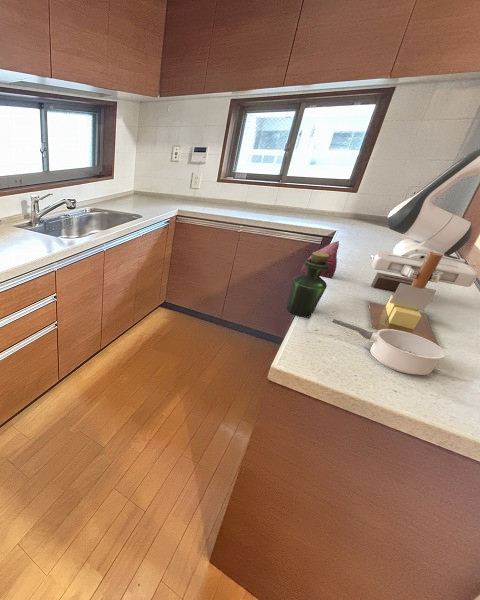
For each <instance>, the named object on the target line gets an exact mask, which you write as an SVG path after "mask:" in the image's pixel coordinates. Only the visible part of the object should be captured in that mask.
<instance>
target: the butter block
mask: <svg viewBox="0 0 480 600" xmlns="http://www.w3.org/2000/svg"><path fill="white" fill-rule="evenodd" d="M393 295H394V294H391V295H390V297H389V299H388V301H387V303H386V305H385V306H386V310H387V315H388V317H390V315H391V313H392V311H393V310H394V308H395V307H399V308H403V309H408V310H412V311H416V312H419V310H418V309H414V308H410V307H405V306H401V305H397V304H392V303H390V301H391V299H392V297H393Z"/></svg>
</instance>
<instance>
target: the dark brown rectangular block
mask: <svg viewBox="0 0 480 600" xmlns="http://www.w3.org/2000/svg"><path fill="white" fill-rule="evenodd" d="M413 281H414V279H410V278H406V277H404V276H399V275H394V274H388V273H383V272H376V274H375V276H374V278H373V281H372V283H371V288H373V289H378V290H382V291H387V292H392V293H395V292H396V290H397V288H398V286H399V284H400V283H403V284H408V285H411V284H412V282H413Z"/></svg>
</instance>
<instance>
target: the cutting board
mask: <svg viewBox="0 0 480 600" xmlns="http://www.w3.org/2000/svg"><path fill="white" fill-rule="evenodd" d="M368 309H369V316H370V325H371V329H373V330H377V331H379V330H382V329H393V330H399V331H404V332H408V333H411V334H414V335H417V336H420V337H423V338H425V339H427V340H429V341H431V342H433V343H435V344H436V345H438V346H439V347H440V344H439V342H438V340H437V337H436V335H435V333H434V331H433V329H432V326H431V323H430V322H429V318H428V317H427V315H426V314H425V313H420V314H421V318H420V320H419V322H418V323H417V325H416V327H415V328H414V329H410V328H406V327H402V326H398V325H394V324H390V323H389V317H388V315H387V310H386V305H384V304H382V303H381V304H380V303H376V302H372V301H368Z"/></svg>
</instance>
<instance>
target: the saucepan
mask: <svg viewBox="0 0 480 600" xmlns="http://www.w3.org/2000/svg"><path fill="white" fill-rule="evenodd" d="M331 323H333V324H335V325H338V326H342V327H343V328H347V329H350V330H352V331H355V332H357V333H358V334H360V335H361V336H362V337H363V338H364V339H366V340H368V341H372V342H373V343H372V345H371V346H370V349H369V352H370V354H371V355H372V356H373V357H374V358H375V359H376V360H377V361H378V363H381V364H382V365H383V366H385V367H387V368H389V369H391V370H394V371H396V372H398V373H402V374H403V373H404V374H407V375H417V376H419V375H420V376H423V375H424V376H426V375H430V374H431V373H432V372H433V370H434V368H436V366H437V364H438V363H439V361H440V359H443V358H444V357H446V351H445V350H444V349H443V348H442V347H441V346H440V345H439V346H438V345H436V344H435V343H433V342H431V341H429V340H427V339H425V338H423V337H420V336H417V335H414V334H411V333H408V332H404V331H399V330H393V329H382V330H377V331H376V332H373V331H368V330H365V329H364V328H362V327H359V326H357V325H354V324H351V323H347V322H344V321H342V320H339V319H336V318H333V319H332V321H331Z"/></svg>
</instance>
